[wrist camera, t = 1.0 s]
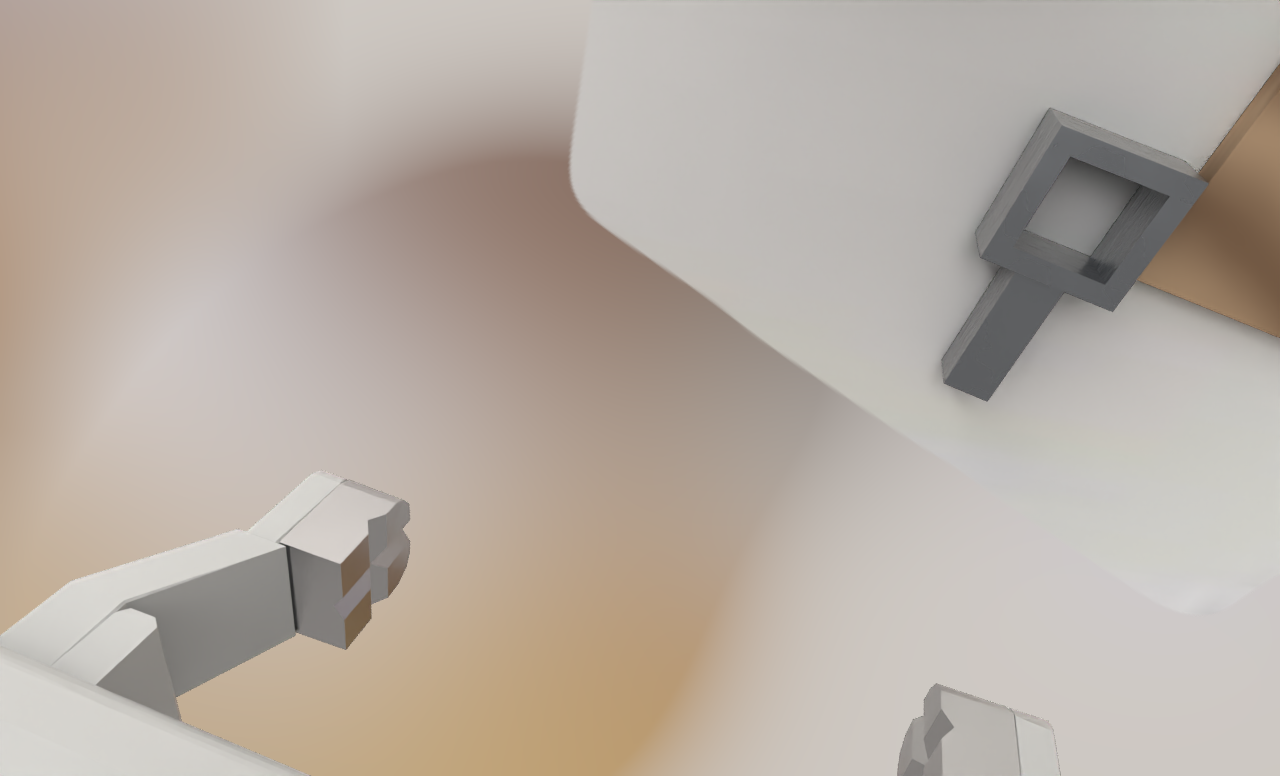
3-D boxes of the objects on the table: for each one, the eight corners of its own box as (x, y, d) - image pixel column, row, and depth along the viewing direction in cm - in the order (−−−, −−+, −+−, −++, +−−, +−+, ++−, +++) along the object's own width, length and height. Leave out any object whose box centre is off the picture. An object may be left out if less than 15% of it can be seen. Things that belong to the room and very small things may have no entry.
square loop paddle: (1049, 107, 37) (1061, 125, 34) (1185, 161, 36) (1209, 183, 33) (907, 345, 44) (907, 376, 41) (1018, 391, 44) (1026, 426, 41)
